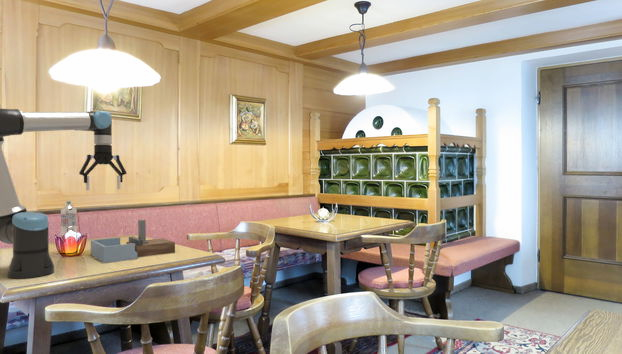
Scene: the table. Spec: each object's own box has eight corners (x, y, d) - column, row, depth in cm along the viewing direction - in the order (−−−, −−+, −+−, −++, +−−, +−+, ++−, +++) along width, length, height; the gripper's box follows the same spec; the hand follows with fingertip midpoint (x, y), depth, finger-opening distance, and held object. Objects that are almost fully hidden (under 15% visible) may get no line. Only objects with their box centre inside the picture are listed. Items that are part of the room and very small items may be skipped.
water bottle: (59, 253, 215) (58, 201, 215) (74, 251, 220) (73, 200, 220) (64, 254, 211) (63, 202, 210) (79, 252, 216) (78, 201, 215)
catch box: (137, 258, 200) (137, 243, 200) (103, 263, 192) (103, 246, 191) (121, 251, 219) (121, 237, 219) (90, 254, 210) (90, 240, 210)
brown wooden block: (175, 252, 215) (174, 242, 215) (136, 257, 204) (136, 246, 204) (163, 248, 228) (163, 238, 228) (126, 252, 216) (126, 242, 216)
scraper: (151, 244, 209) (151, 221, 208) (138, 246, 205) (138, 222, 205) (141, 240, 220) (141, 218, 220) (128, 241, 217) (128, 219, 216)
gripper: (128, 145, 220) (128, 188, 220) (71, 144, 205) (72, 190, 205) (132, 145, 214) (133, 189, 215) (75, 143, 199) (75, 190, 199)
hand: (103, 189), depth 210 cm, fingers open, 13 cm apart
